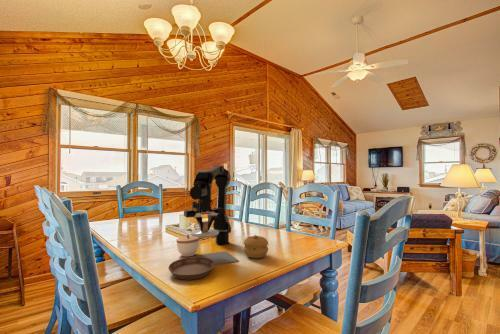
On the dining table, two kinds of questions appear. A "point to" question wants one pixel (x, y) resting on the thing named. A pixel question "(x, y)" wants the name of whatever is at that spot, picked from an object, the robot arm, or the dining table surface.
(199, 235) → the lid
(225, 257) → the mat
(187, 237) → the lidded jar
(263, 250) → the pot
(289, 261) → the dining table surface
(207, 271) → the plant saucer
